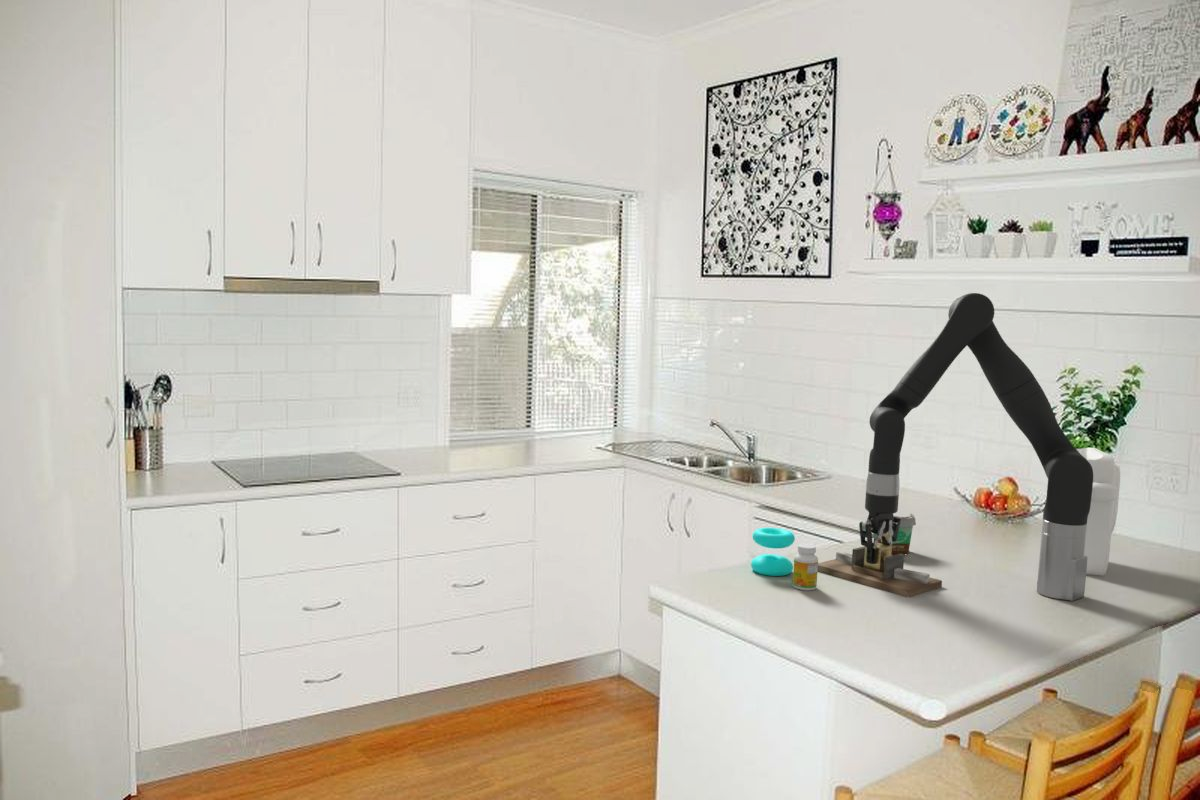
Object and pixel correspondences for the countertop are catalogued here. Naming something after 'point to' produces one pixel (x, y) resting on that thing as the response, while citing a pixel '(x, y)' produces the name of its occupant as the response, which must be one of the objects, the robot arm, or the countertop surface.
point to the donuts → (770, 562)
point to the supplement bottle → (805, 568)
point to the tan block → (878, 557)
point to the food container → (903, 535)
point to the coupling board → (879, 573)
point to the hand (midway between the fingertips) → (877, 561)
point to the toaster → (1101, 509)
